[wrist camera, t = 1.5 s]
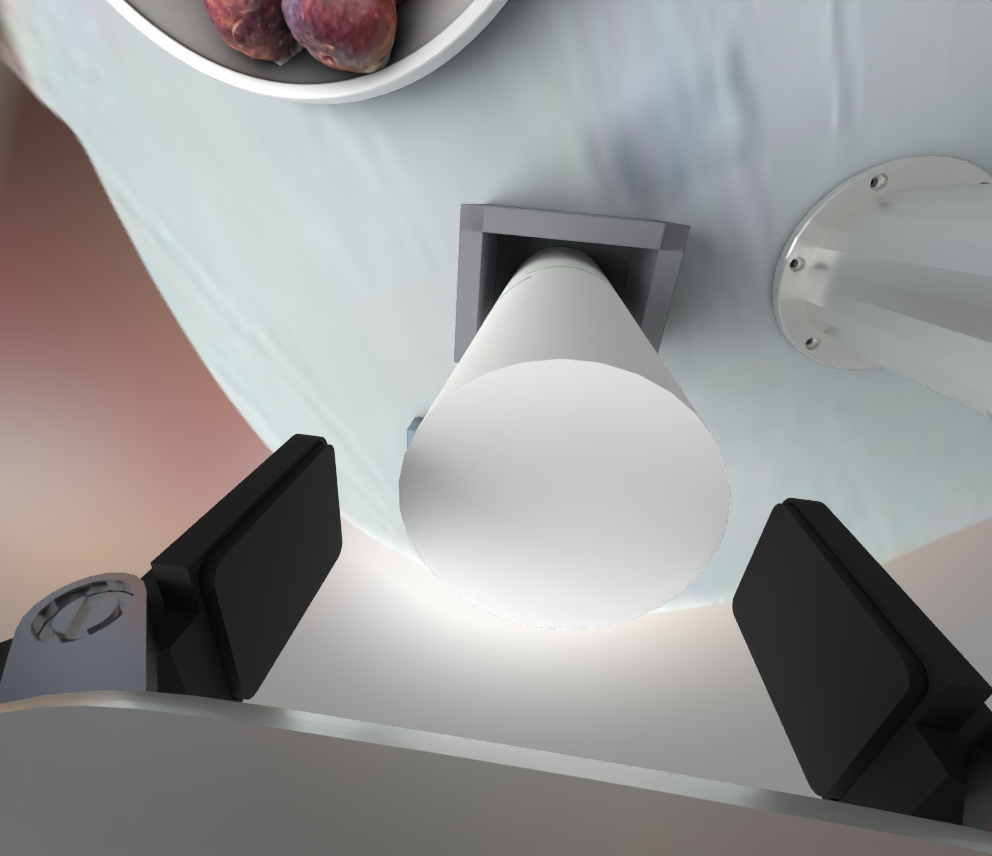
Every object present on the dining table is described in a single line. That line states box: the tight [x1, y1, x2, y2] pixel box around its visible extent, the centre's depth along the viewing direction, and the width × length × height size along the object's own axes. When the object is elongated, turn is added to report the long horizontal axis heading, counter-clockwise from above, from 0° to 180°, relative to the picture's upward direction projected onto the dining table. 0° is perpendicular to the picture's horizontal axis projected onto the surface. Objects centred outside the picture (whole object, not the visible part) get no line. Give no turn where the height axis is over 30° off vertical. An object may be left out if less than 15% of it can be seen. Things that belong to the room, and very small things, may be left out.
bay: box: [454, 204, 690, 363], centre depth 28 cm, size 11×8×8 cm
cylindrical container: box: [399, 247, 731, 629], centre depth 21 cm, size 7×7×25 cm
